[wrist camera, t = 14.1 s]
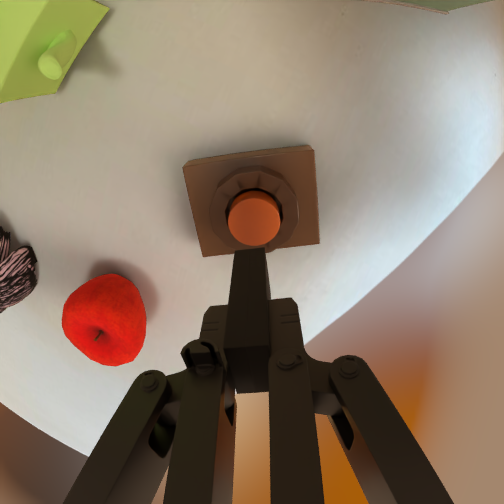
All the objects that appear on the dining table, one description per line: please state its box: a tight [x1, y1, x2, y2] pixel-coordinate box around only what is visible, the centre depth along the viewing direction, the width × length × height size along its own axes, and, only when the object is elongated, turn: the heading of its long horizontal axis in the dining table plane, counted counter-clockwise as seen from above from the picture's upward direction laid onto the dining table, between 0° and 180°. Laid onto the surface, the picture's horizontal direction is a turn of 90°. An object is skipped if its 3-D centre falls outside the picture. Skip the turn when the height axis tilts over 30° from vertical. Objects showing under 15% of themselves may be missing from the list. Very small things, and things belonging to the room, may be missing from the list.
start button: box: [228, 191, 280, 246], centre depth 22 cm, size 4×4×2 cm
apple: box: [62, 274, 146, 366], centre depth 28 cm, size 9×9×8 cm
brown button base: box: [183, 145, 320, 257], centre depth 24 cm, size 10×8×4 cm
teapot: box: [0, 0, 110, 103], centre depth 13 cm, size 15×13×11 cm
